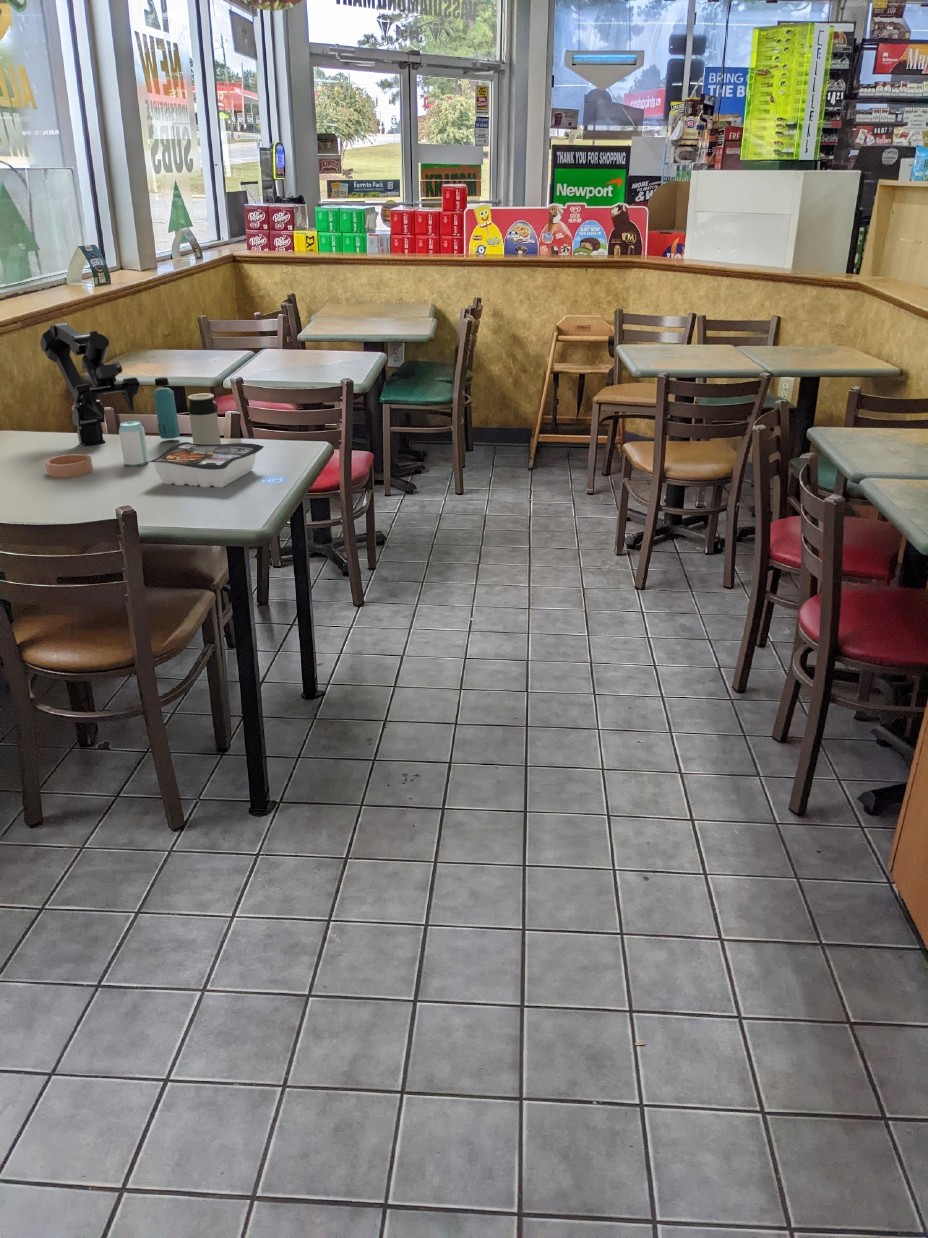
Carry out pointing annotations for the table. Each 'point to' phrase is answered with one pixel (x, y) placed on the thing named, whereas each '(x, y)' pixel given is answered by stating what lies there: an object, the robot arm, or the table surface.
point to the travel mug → (204, 419)
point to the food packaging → (205, 463)
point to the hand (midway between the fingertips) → (118, 413)
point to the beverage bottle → (166, 410)
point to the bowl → (69, 465)
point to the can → (133, 443)
